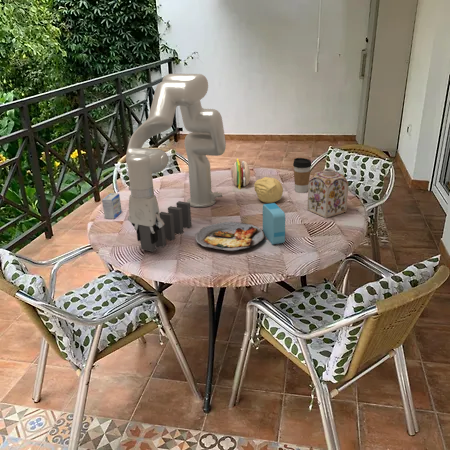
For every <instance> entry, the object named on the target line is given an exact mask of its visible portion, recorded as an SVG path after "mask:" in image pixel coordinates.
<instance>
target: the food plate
mask: <svg viewBox="0 0 450 450" xmlns="http://www.w3.org/2000/svg"><path fill="white" fill-rule="evenodd" d="M265 238H266V236H265V234H264V232H263V228H260V227H258V226H256V225H253V224H251V223H245V222H244V223H243V222H236V221H234V222H233V221H223V222H218V223H213V224H208V225H206V226H205V227H202V228H201V229H200V230H199V231H198V232H197V233H196V234H195V241H196V243H198V244H199V245H201V246H202V247H205V248H211V249H216V250H222V251H223V250H224V251H231V252H232V251H235V252H236V251H241V250H246V249H251V248H252V247H256V246H257V245H258V244H260V243H261V242H262V241H263V240H264V239H265Z"/></svg>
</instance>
